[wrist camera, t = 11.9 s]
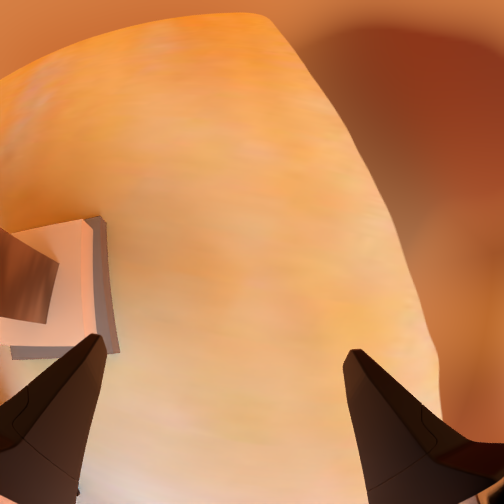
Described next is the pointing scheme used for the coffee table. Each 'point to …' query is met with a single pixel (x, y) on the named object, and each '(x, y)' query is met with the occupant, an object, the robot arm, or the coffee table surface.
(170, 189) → the coffee table surface
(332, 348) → the coffee table surface
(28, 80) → the coffee table surface
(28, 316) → the walnut block
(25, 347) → the tower base slab
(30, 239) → the tower top slab
